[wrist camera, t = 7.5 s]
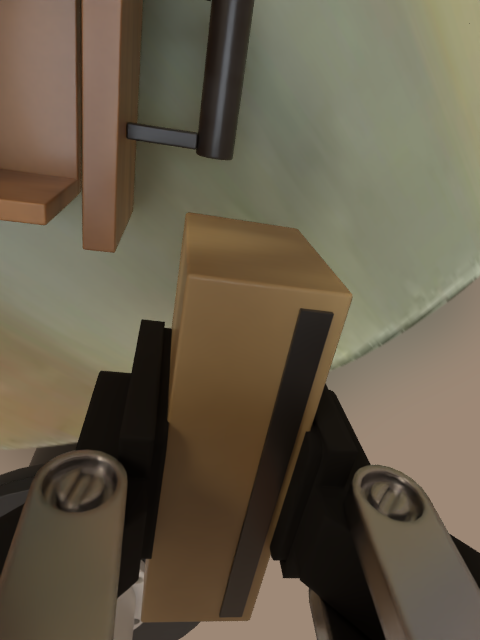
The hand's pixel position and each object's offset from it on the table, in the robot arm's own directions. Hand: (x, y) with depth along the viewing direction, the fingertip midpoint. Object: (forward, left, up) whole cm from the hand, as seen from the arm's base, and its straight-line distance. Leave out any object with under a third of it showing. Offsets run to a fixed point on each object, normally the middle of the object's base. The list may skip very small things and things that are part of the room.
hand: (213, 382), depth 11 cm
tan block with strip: (0, 0, 0) cm, 0 cm away
